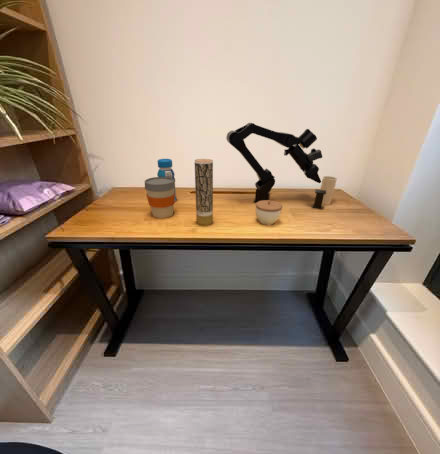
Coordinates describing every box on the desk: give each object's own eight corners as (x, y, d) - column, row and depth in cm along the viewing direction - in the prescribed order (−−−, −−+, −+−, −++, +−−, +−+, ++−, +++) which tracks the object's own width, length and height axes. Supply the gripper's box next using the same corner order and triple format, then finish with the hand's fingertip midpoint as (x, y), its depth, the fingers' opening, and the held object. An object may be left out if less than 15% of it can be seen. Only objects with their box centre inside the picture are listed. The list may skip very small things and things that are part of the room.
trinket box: (282, 227, 102) (285, 205, 97) (255, 227, 102) (257, 205, 97) (277, 217, 111) (280, 196, 107) (253, 216, 111) (254, 196, 107)
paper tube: (206, 227, 101) (206, 163, 89) (193, 223, 104) (190, 160, 92) (215, 221, 106) (216, 160, 94) (202, 217, 109) (201, 158, 97)
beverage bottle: (157, 202, 125) (152, 161, 115) (163, 197, 132) (159, 157, 122) (173, 204, 123) (170, 162, 114) (178, 198, 131) (176, 158, 121)
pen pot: (317, 203, 127) (322, 178, 121) (318, 199, 132) (323, 175, 126) (330, 205, 125) (336, 180, 119) (330, 201, 131) (336, 177, 124)
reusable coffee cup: (142, 216, 109) (137, 182, 102) (158, 207, 119) (154, 175, 112) (168, 221, 105) (164, 186, 98) (181, 211, 116) (179, 178, 108)
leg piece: (311, 208, 121) (315, 192, 117) (312, 204, 125) (315, 189, 121) (322, 209, 120) (325, 193, 116) (322, 206, 124) (326, 190, 120)
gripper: (318, 146, 108) (338, 173, 112) (309, 140, 124) (327, 164, 129) (296, 164, 113) (317, 189, 117) (291, 156, 129) (309, 179, 133)
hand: (318, 180), depth 124 cm, fingers open, 9 cm apart
